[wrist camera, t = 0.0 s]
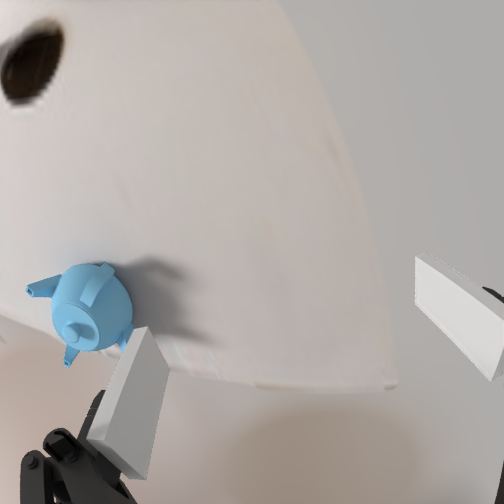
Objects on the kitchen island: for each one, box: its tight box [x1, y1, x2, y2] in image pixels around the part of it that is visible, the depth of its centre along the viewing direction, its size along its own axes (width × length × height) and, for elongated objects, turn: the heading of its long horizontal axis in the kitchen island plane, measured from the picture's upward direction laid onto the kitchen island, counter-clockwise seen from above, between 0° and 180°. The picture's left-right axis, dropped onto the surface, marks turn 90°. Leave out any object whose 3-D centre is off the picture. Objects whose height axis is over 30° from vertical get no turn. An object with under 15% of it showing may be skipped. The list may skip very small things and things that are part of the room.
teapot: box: [26, 262, 134, 368], centre depth 37 cm, size 15×15×11 cm
